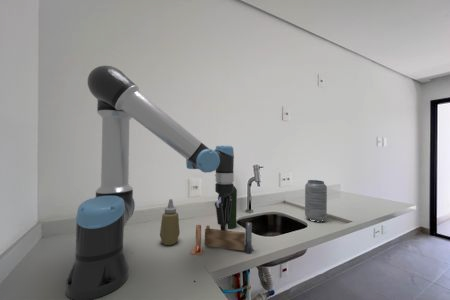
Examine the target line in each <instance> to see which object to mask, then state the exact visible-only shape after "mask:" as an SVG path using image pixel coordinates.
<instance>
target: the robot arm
mask: <svg viewBox="0 0 450 300" xmlns="http://www.w3.org/2000/svg"><path fill="white" fill-rule="evenodd" d="M87 87H88V90H89V92H90V93H91V94H92V96H93V97H94V98H96V100H97V104H96V105H97V107H96V108H97V111H96V113H97V114H98V115H99V116H100V117H101V118H102V120H101V121H102V122H101V123H102V124H101V125H102V126H101V165H100V166H101V169H100V171H101V173H100V187H98V188H97V189H96V190H95V197H92V198H89V199H86V200H85V201H83V202H81V203H80V204H79V205H78V208H77V213H76V216H75V221H76V229H75V232H76V233H75V259H74V260H75V261H74V262H73V265H72V268H71V270H70V273H69V275H68V277H67V280H66V284H65V294H66V296H67V297H68V298H69V299H71V300H94V299H99V298H100V297H103V296H107V295H108V294H110V293H113V292H114V291H116V290H118V288H121V287H122V286H123V284H125V283H126V281H128V278H129V273H130V269H129V268H130V267H129V263H128V260H127V258H126V255H125V251H124V234H125V233H124V231H125V226H126V225H127V223H128V221H130V220H131V217H132V216H133V215H134V212H135V207H136V204H135V199H134V197H133V195H134V192H133V191H134V190H133V187H132V186H131V185H130V184H129V176H130V175H129V173H130V171H129V170H130V169H129V168H130V167H129V166H130V164H129V163H130V159H129V156H130V120H131V119H133V120H134V121H136V122H137V123H139V124H140V125H142V126H143V128H146V129H147V130H148V131H149V132H151V133H152V134H153V135H155V136H156V138H158V139H159V140H161V141H162V142H164V143H165V144H166V145H167V146H169V147H170V148H171V149H173V150H174V151H176V152H177V154H179V155H180V156H182V157H183V158H185V165H186V168H187V169H189V170H200V171H201V172H202V173H205V174H206V173H212V172H214V171H215V174H214V177H215V182H216V183H215V185H214V187H215V188H214V189H215V190H214V191H215V192H216V193H217V194H218V195H217V202H214V207H215V211H216V219H217V221H216V222H217V225H220V230H227V231H229V229H228V224H227V223H229V224H230V222H229V220H230V216H231V206H232V199H233V197H230V193H232V192H233V185H234V177H235V175H234V162H235V161H234V160H235V159H234V158H235V154H234V153H235V152H234V147H233V146H232V145H216V146H215V149H212V148H209V147H208V146H206V145H205V144H204V143H203V142H202V141H200V139H198V138H197V137H196V136H194V135H193V134H192V133H191V132H189V131H188V130H187V129H186V128H184V127H183V125H181V124H180V123H178V122H177V121H176V120H174V119H173V118H172V117H171V116H170V115H168V113H166V112H165V111H163V110H162V109H161V108H159V107H158V106H157V105H156V104H155V103H154V102H152V101H151V100H150V99H149V98H147V97H146V96H145V95H144V94H143V93H141V92H140V89H139V86H138V85H137V84H135V82H133V81H132V80H131V79H130V78H128V76H126V75H125V73H124V72H123V71H122V70H120V69H118V68H116V67H115V66H113V65H100V66H97V67H94V68H93V69H92V70H91V71H90V72H89V73H88V76H87Z"/></svg>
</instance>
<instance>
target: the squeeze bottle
mask: <svg viewBox="0 0 450 300" xmlns="http://www.w3.org/2000/svg"><path fill="white" fill-rule="evenodd" d="M179 219H180V218H179V213H178V212H177V207H175V206H174V202H173V199H168V204H167V207H164V213H163V214H162V215H161V222H160V230H159V231H160V232H159V237H160V240H161V243H162V245H164V246H171V245H172V244H173V245H175V244H176V243H177V242H178V239H179V236H180V233H181V232H180V221H179Z"/></svg>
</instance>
